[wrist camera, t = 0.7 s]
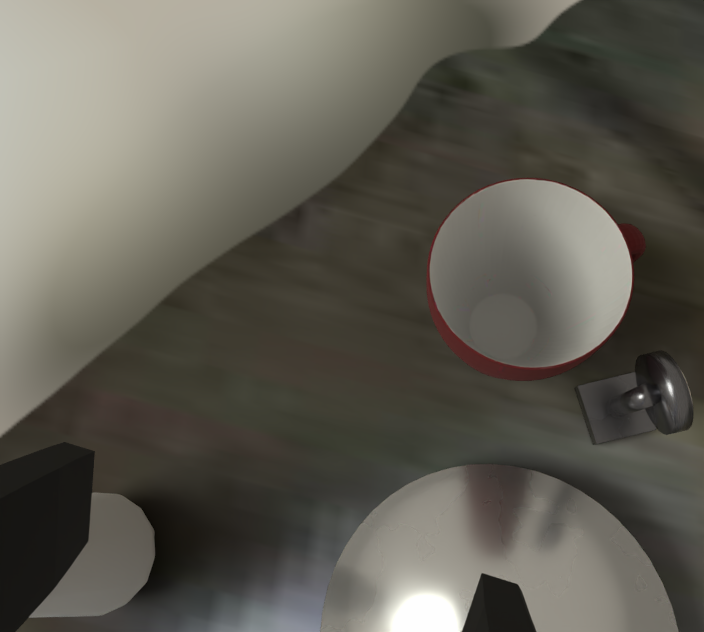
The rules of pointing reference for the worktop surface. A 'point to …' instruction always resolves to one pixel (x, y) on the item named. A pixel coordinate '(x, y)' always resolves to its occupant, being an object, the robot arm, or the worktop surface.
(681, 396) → the dial gauge
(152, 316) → the worktop surface
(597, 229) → the mug
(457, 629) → the turntable
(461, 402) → the worktop surface
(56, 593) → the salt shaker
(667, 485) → the worktop surface
